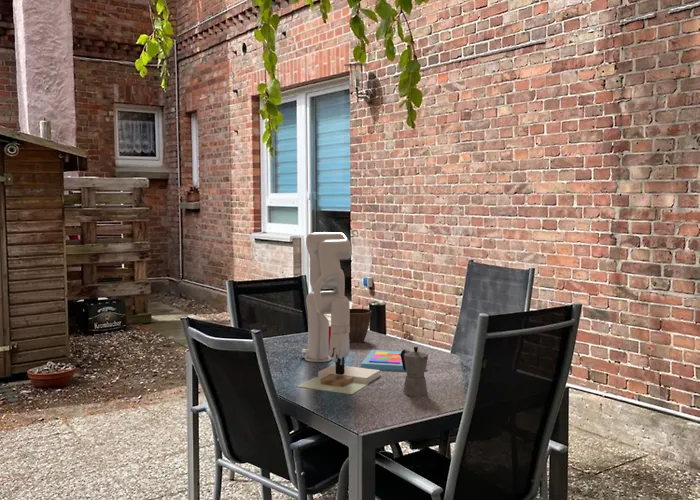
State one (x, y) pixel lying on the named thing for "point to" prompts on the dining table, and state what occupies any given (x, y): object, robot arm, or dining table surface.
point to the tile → (336, 380)
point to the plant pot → (359, 324)
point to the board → (352, 373)
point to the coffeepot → (414, 372)
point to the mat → (347, 389)
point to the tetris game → (383, 360)
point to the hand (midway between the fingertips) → (340, 373)
